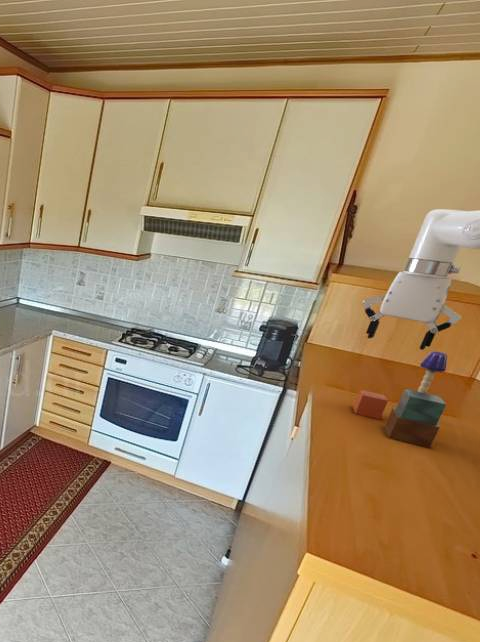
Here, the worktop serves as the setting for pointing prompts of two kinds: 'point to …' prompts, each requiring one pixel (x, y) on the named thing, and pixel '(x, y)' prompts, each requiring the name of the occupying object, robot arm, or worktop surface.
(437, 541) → the worktop surface
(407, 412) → the block stack
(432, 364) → the toy lamp
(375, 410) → the toy cube
